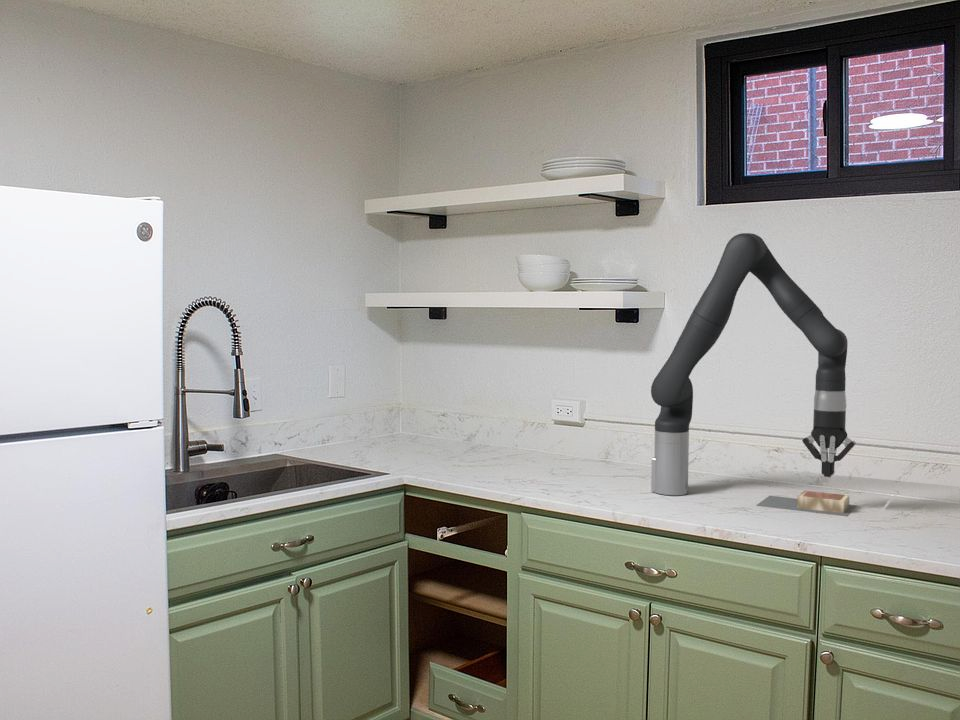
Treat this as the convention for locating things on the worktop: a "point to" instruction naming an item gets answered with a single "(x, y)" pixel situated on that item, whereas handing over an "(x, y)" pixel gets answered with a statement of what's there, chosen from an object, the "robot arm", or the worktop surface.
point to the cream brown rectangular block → (823, 501)
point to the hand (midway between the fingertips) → (827, 476)
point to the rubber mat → (792, 505)
